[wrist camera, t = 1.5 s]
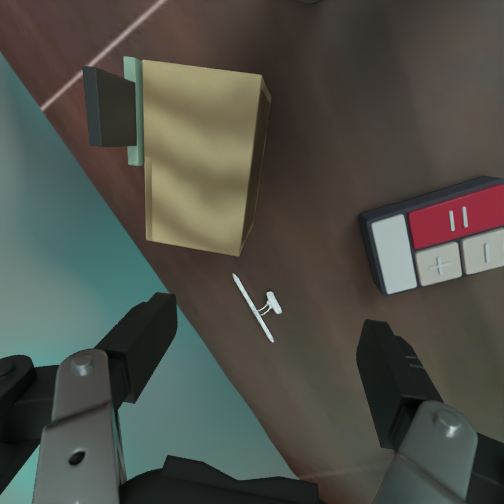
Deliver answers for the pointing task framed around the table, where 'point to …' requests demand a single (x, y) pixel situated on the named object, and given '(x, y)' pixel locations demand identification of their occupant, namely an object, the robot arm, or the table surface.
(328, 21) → the table surface
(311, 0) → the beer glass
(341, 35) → the table surface
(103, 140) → the sliding door
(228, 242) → the cabinet
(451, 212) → the calculator
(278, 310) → the picture light
